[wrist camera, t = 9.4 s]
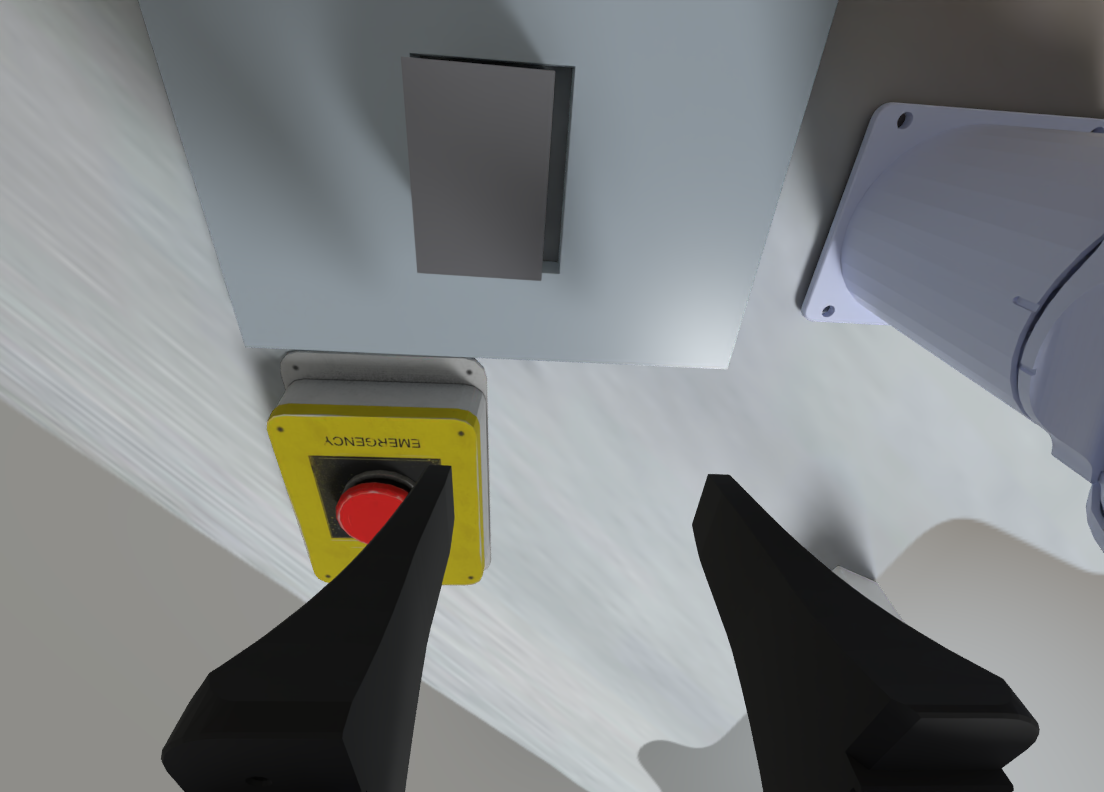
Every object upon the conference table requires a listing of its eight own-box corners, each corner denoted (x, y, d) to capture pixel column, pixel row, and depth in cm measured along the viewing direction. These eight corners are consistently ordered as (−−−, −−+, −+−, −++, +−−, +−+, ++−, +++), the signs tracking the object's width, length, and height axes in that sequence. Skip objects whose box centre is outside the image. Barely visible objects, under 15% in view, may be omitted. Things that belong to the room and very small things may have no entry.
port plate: (833, -64, 14) (862, -78, 13) (716, 352, 22) (727, 369, 21) (131, -134, 13) (89, -158, 12) (262, 331, 21) (245, 347, 20)
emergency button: (477, 404, 18) (485, 630, 27) (487, 351, 22) (492, 564, 30) (227, 397, 18) (313, 629, 26) (280, 344, 22) (341, 562, 30)
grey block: (549, 75, 16) (555, 70, 11) (540, 228, 19) (541, 281, 14) (444, 66, 16) (400, 56, 11) (449, 222, 19) (417, 273, 14)
